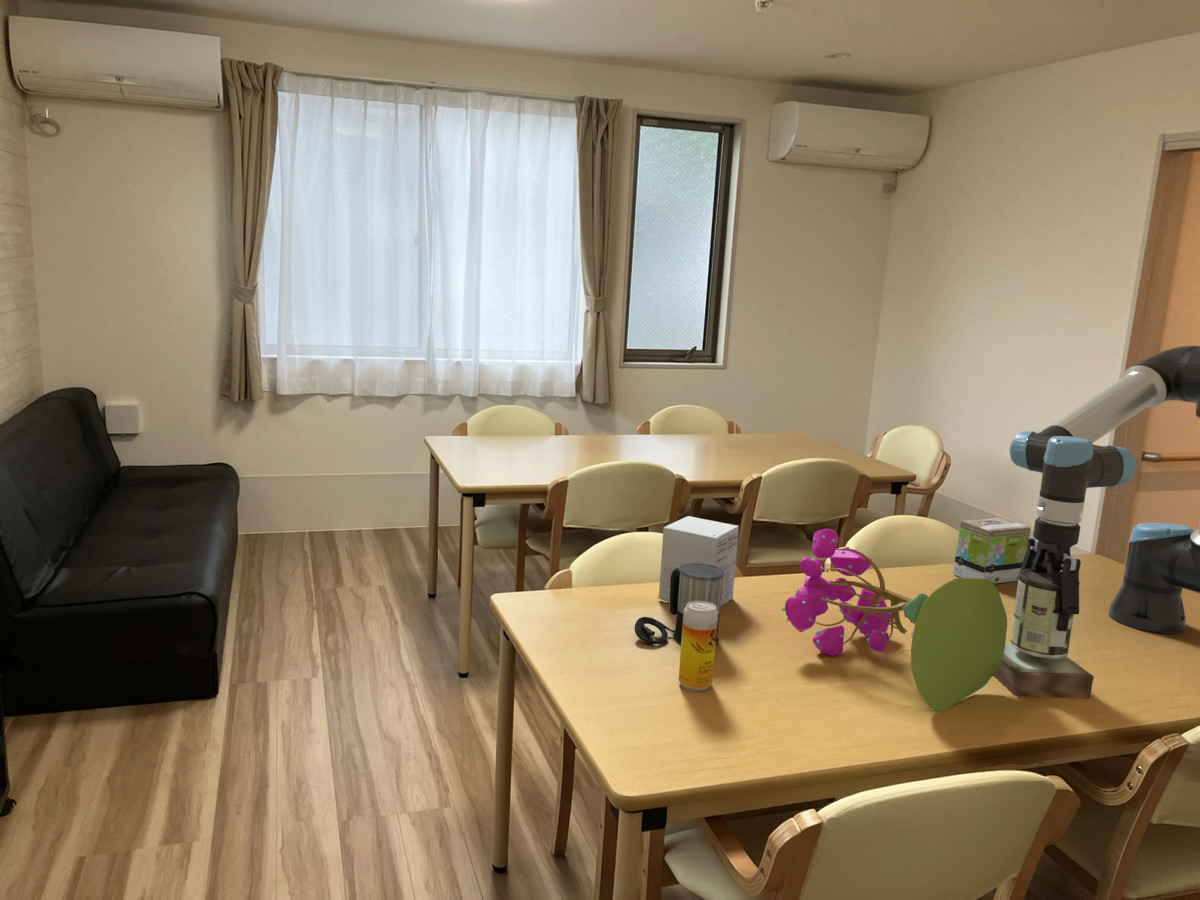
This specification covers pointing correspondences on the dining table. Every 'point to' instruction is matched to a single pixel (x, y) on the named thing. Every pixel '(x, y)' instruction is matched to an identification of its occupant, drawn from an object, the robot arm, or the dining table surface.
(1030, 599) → the coffee can
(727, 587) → the supplement box
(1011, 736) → the dining table surface
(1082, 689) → the tray
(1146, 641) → the dining table surface
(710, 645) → the beer can
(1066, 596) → the robot arm
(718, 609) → the milk frother
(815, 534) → the magenta flower sprig
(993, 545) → the tea box
